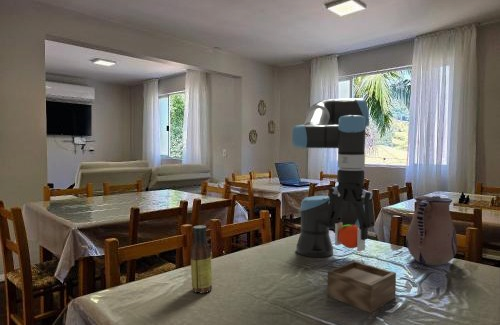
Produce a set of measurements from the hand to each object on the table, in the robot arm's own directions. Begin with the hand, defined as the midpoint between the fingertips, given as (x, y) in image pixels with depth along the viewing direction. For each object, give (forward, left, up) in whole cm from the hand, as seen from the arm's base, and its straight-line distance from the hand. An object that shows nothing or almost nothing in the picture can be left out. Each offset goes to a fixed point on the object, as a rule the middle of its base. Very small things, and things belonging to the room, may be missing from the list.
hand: (349, 247), depth 102 cm
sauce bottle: (-33, -30, -15) cm, 47 cm away
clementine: (0, 0, 0) cm, 1 cm away
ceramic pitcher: (+4, +49, -15) cm, 51 cm away
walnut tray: (+2, +3, -15) cm, 15 cm away
